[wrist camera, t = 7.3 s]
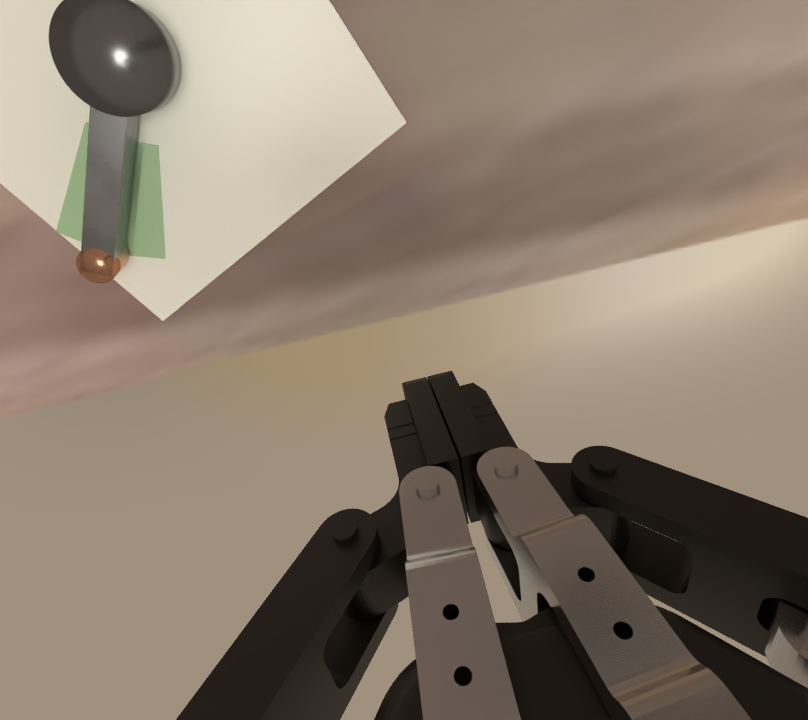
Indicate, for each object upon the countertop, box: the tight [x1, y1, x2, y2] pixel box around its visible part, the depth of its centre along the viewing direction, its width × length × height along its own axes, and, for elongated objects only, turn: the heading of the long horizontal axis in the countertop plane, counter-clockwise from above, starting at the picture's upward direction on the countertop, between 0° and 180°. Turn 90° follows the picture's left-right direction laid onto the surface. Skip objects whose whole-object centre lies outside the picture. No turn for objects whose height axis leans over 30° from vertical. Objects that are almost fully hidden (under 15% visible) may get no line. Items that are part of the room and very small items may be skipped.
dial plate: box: [0, 0, 406, 321], centre depth 26 cm, size 20×22×2 cm
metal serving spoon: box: [49, 0, 181, 283], centre depth 26 cm, size 14×5×3 cm, turn 160°
